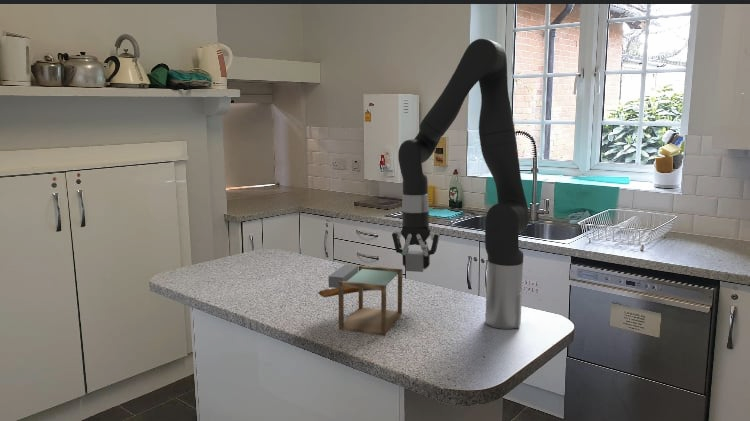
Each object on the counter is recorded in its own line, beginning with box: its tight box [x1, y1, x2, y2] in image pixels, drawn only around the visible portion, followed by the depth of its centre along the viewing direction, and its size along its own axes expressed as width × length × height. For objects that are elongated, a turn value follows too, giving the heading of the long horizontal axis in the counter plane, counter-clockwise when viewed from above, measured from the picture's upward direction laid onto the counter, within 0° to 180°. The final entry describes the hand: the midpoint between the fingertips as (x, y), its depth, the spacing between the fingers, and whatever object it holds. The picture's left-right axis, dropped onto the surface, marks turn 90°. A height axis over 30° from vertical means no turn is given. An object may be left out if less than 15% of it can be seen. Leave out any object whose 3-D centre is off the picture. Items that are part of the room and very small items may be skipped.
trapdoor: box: [328, 264, 398, 289], centre depth 156 cm, size 15×14×3 cm
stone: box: [405, 249, 426, 273], centre depth 167 cm, size 5×5×5 cm
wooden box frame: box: [338, 265, 403, 336], centre depth 156 cm, size 13×17×13 cm
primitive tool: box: [318, 287, 366, 298], centre depth 184 cm, size 19×6×4 cm, turn 117°
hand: (416, 267), depth 168 cm, fingers closed on stone, 5 cm apart
